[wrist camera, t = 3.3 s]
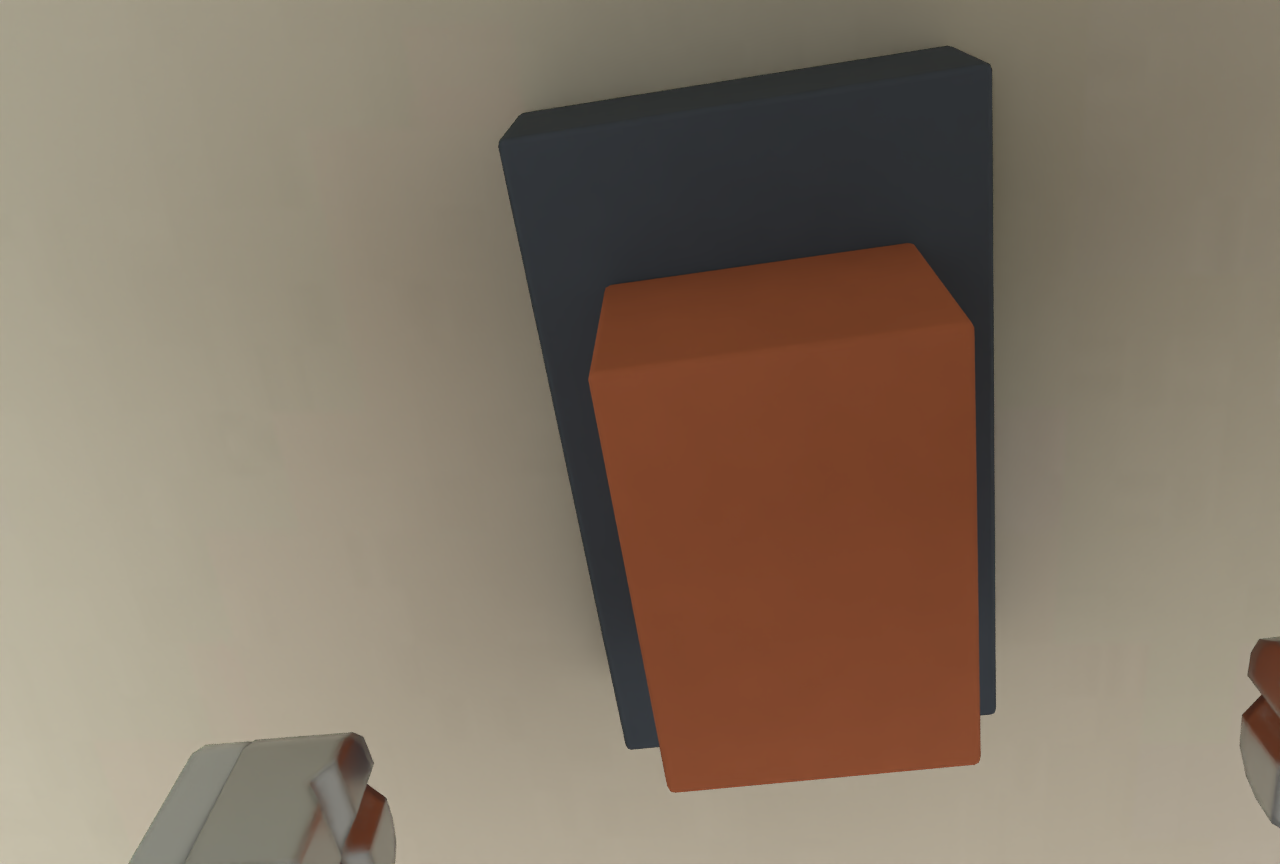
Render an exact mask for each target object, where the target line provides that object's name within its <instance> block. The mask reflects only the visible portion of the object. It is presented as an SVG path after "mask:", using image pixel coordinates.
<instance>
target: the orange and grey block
mask: <svg viewBox="0 0 1280 864" xmlns="http://www.w3.org/2000/svg"><path fill="white" fill-rule="evenodd" d="M498 147H499V152H500V157H501V161H502V166H503V171H504V175H505V180H506V185H507V190H508V194H509V199H510V204H511V208H512V213H513V218H514V222H515V227H516V232H517V237H518V241H519V246H520V251H521V255H522V260H523V265H524V269H525V274H526V279H527V283H528V288H529V293H530V298H531V302H532V307H533V312H534V316H535V321H536V326H537V330H538V335H539V340H540V344H541V349H542V354H543V359H544V363H545V368H546V373H547V377H548V382H549V387H550V391H551V396H552V401H553V406H554V410H555V415H556V420H557V424H558V429H559V434H560V438H561V443H562V448H563V452H564V457H565V462H566V467H567V471H568V476H569V481H570V485H571V490H572V495H573V499H574V504H575V509H576V513H577V518H578V523H579V528H580V532H581V537H582V542H583V546H584V551H585V556H586V560H587V565H588V570H589V575H590V579H591V584H592V589H593V593H594V598H595V603H596V607H597V612H598V617H599V621H600V626H601V631H602V636H603V640H604V645H605V650H606V654H607V659H608V664H609V668H610V673H611V678H612V682H613V687H614V692H615V697H616V701H617V706H618V711H619V715H620V720H621V725H622V729H623V734H624V739H625V744H626V746H627V748H628V749H631V750H633V749H643V748H653V747H660V751H661V756H662V762H663V767H664V772H665V777H666V782H667V786H668V788H669V789H670V791H671V792H675V793H676V792H687V791H697V790H708V789H719V788H729V787H740V786H751V785H762V784H772V783H783V782H794V781H804V780H815V779H826V778H836V777H847V776H858V775H869V774H879V773H890V772H901V771H911V770H922V769H933V768H944V767H954V766H965V765H975V764H977V763H979V761H980V756H981V751H980V715H990V714H993V713H994V712H995V709H996V659H995V485H994V311H993V137H992V68H991V66H990V64H988V63H986V62H984V61H982V60H980V59H978V58H975V57H973V56H971V55H969V54H967V53H964V52H962V51H960V50H958V49H956V48H953V47H950V46H943V47H937V48H930V49H924V50H918V51H911V52H905V53H899V54H893V55H886V56H880V57H874V58H867V59H861V60H855V61H848V62H842V63H836V64H830V65H823V66H817V67H811V68H804V69H798V70H792V71H785V72H779V73H773V74H767V75H760V76H754V77H748V78H741V79H735V80H729V81H722V82H716V83H710V84H704V85H697V86H691V87H685V88H678V89H672V90H666V91H660V92H653V93H647V94H641V95H634V96H628V97H622V98H615V99H609V100H603V101H597V102H590V103H584V104H578V105H571V106H565V107H559V108H552V109H546V110H540V111H534V112H527V113H523V114H521V115H520V116H519V117H518V118H517V119H516V120H515V122H514V123H513V124H512V125H511V127H510V128H509V129H508V130H507V132H506V133H505V134H504V136H503V137H502V138H501V139H500V141H499V145H498Z"/></svg>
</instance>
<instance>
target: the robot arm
mask: <svg viewBox="0 0 1280 864" xmlns="http://www.w3.org/2000/svg"><path fill="white" fill-rule="evenodd" d="M1248 677H1249V678H1250V680H1251V681H1252V682H1253V683H1254V685H1255V686H1256V687H1257V689H1258V690H1259V691H1260V693H1261V694H1262V695H1261V696H1260V697H1259V698H1258V699H1257V700H1256V701H1255V702H1254V703H1253V704H1252V705H1251V706H1250V707H1249V708H1248V709H1247V710H1246V712H1245V713H1244V714H1243V715H1242V723H1241V734H1240V749H1241V754H1242V759H1243V764H1244V769H1245V774H1246V777H1247V779H1248V782H1249V784H1250V786H1251V789H1252V791H1253V793H1254V795H1255V798H1256V800H1257V801H1258V803H1259V804H1260V806H1261V807H1262V809H1263V811H1264V812H1265V814H1266V815H1267V817H1268V818H1269V820H1270V821H1271V823H1272V824H1274V825H1276V826H1277V827H1279V828H1280V637H1272V638H1263V639H1259V640H1258V642H1257V644H1256V645H1255V647H1254V649H1253V650H1252V652H1251V656H1250V663H1249V669H1248ZM373 764H374V762H373V760H372V757H371V755H370V752H369V750H368V747H367V745H366V742H365V740H364V737H363V736H360V735H358V734H356V733H353V732H350V733H337V734H325V735H312V736H299V737H286V738H274V739H261V740H255V741H253V742H235V743H223V744H210V745H205V746H203V747H202V748H200V749H199V750H197V751H196V752H194V753H193V754H192V755H191V756H190V758H189V759H188V761H187V763H186V765H185V766H184V768H183V770H182V772H181V773H180V775H179V777H178V778H177V780H176V782H175V784H174V785H173V787H172V789H171V791H170V792H169V794H168V796H167V797H166V799H165V801H164V803H163V804H162V806H161V808H160V810H159V811H158V813H157V815H156V817H155V818H154V820H153V822H152V823H151V825H150V827H149V829H148V830H147V832H146V834H145V836H144V837H143V839H142V841H141V842H140V844H139V846H138V848H137V849H136V851H135V853H134V855H133V856H132V858H131V860H130V862H129V863H128V864H395V854H396V837H395V830H394V823H393V817H392V814H391V811H390V808H389V805H388V802H387V799H386V798H385V797H384V796H383V795H381V794H380V793H379V792H377V791H376V790H375V789H373V788H372V787H370V786H369V785H368V784H367V782H368V779H369V776H370V773H371V770H372V767H373Z"/></svg>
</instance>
